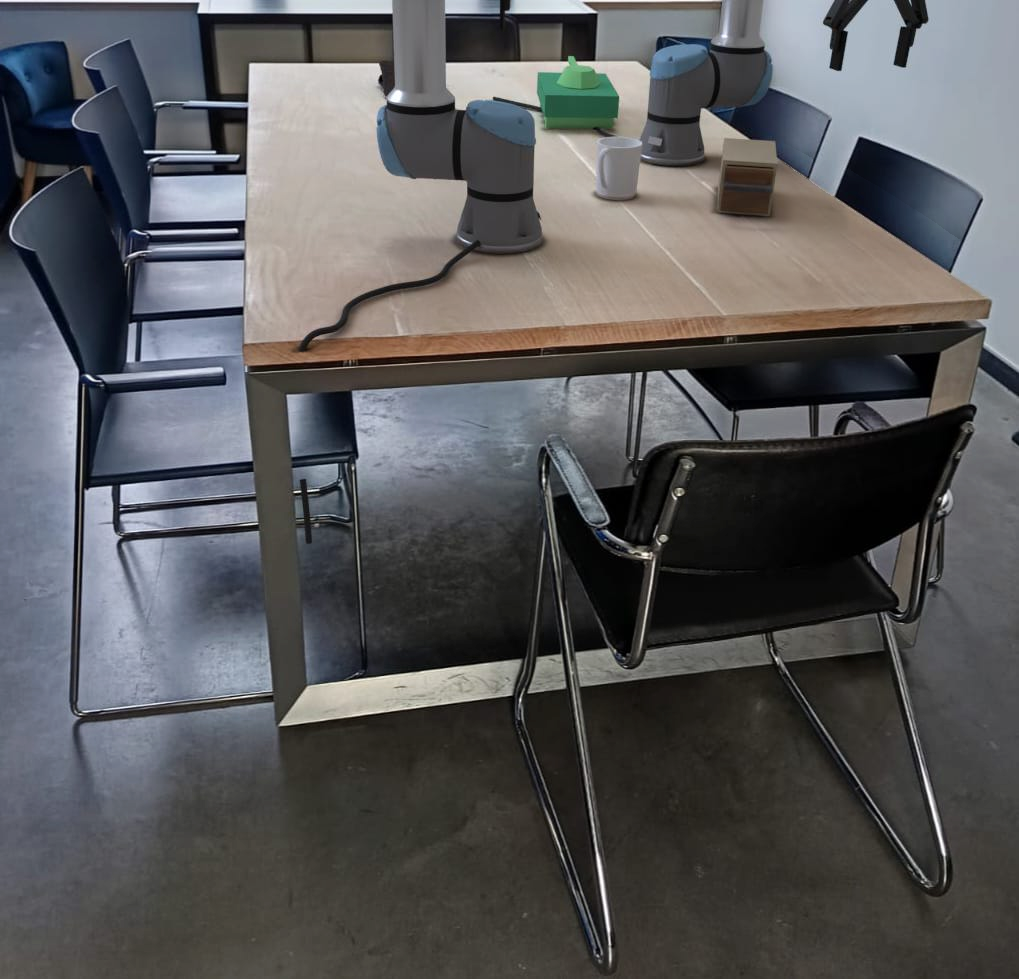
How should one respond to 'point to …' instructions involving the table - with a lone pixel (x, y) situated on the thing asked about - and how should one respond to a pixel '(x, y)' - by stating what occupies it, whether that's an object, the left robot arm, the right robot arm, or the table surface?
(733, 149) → the cabinet
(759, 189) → the drawer
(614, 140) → the mug
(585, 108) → the toy tank
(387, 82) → the axe head
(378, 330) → the table surface
